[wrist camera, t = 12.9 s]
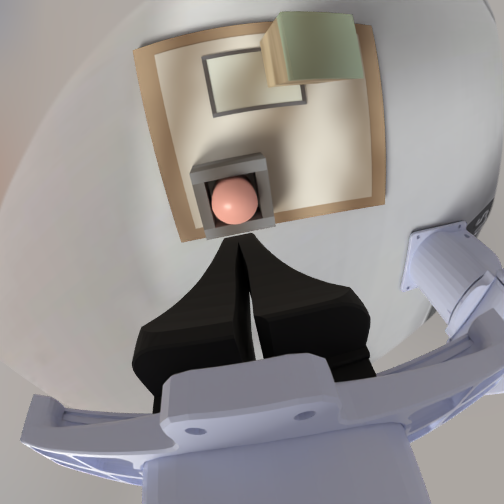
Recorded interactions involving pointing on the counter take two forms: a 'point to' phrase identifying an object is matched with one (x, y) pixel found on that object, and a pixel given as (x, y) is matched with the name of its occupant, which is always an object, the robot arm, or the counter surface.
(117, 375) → the counter surface
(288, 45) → the green topped wooden block
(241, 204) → the button
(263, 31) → the brown framed board
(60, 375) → the counter surface
